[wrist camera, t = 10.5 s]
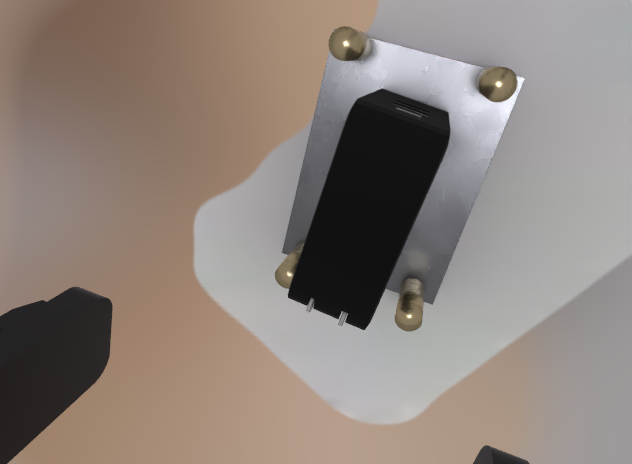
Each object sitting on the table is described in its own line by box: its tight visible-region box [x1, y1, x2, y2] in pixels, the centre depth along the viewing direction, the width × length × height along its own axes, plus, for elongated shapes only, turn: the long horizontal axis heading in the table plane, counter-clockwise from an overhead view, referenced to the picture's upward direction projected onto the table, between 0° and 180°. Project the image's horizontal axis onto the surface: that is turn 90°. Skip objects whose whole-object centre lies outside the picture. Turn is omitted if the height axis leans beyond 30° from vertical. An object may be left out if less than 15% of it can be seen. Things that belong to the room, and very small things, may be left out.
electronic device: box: [288, 89, 451, 330], centre depth 24 cm, size 4×10×10 cm, turn 162°
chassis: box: [275, 26, 525, 331], centre depth 27 cm, size 15×11×5 cm
